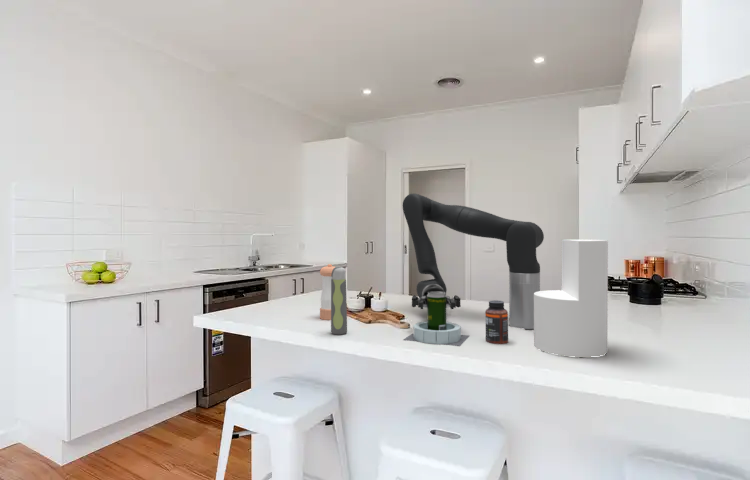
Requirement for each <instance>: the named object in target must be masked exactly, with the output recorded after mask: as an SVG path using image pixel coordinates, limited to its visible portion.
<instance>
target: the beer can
mask: <svg viewBox="0 0 750 480" xmlns="http://www.w3.org/2000/svg"><path fill="white" fill-rule="evenodd" d="M446 296H447V294H446V295H445V292H441V291H432V292H428V295H427V308H426V310H427V311H426V316H427V317H426V318H427V319H426V322H427V330H447V326H446V322H447V308H446Z"/></svg>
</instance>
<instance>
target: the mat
mask: <svg viewBox="0 0 750 480" xmlns="http://www.w3.org/2000/svg"><path fill="white" fill-rule="evenodd" d="M469 337H470V335H469V334H468V335H467V334H461V339H460V340H459V341H458V342H454V343H450V344H449V343H448V344H442V345H443V346H453V347H461V346H462V345H463V344H464V343H465V341H467V340H468V338H469ZM402 341H407V342H408V341H409V342H416V343H417V342H418V343H421V342H420V341H417V340H415V339H414V337H413V333H411V334H410V335H408V336H406V337H405V338H403V339H402Z"/></svg>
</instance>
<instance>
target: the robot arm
mask: <svg viewBox="0 0 750 480" xmlns="http://www.w3.org/2000/svg"><path fill="white" fill-rule="evenodd" d="M402 211H403V215H404V217H405V220H406V223H407V226H408V230H409V233H410V236H411V239H412V243H413V247H414V252H415V257H416V265H417V270H418V272H419V274H422V275H430V276H432V277H433V278H432V279H424V280H421V281H419V282H418V283H417V285H416V293H417V295H415V294H414V295H412V297H411V307H412V308H415V307H417V308H420V310H423V309H424V308H425V309H427V295H428V292H432V291H441V292H445V295H446V309H447V308H448V309H449V308H450V310H454V309H455V308H461V300H462V299H461V297H459V296H458V295H453V296H452V297H450V296H449V295H447V290H448V289H447V285H446V283H445V281H444V279H443V277H442V275H441V273H440V270H439V268H438V264H437V263H438V262H437V258H436V257H437V256H436V253H435V249H434V246H433V243H432V241H431V239H430V237H429V235H428V233H427V229H426V227H425V222H433V223H437V224H440V225H443V226H445V227H447V228H448V229H451V230H453V231H456V232H459V233H462V234H466V235H469V236H474V237H480V238H488V239H496V240H499V241H503V242H506V244H505V246H506V248H505V249H506V261H507V265H508V270H509V271H508V274H509V275H508V277H509V279H508V281H509V283H508V285H509V286H508V287H509V288H508V291H509V292H508V293H509V295H508V297H509V298H508V300H509V301H508V304H509V307H508V309H509V310H508V311H509V312H508V315H509V316H508V326H510V327H513V328H516V329H517V328H518V329H524V330H534V293H535V292H538V291H541V264H540V263H539V262H538V259H537V248H538V247H540V246H541V245H542V244H543V242H544V239H545V237H544V236H545V235H544V231H543V229H542V228H541V227H540V226H539V225H538V224H536V223H535V222H532V221H522V220H514V219H509V218H504V217H501V216H499V215H496V214H493V213H490V212H487V211H484V210H480V209H477V208H473V207H469V206H465V205H456V204H445V203H441V202H439V201H436V200H434V199H430V198H429V197H427V196H424V195H421V194H418V193H409V194H407V196H405V197H404V199H403V201H402ZM424 221H425V222H424Z"/></svg>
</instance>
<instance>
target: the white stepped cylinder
mask: <svg viewBox="0 0 750 480" xmlns="http://www.w3.org/2000/svg"><path fill="white" fill-rule="evenodd" d="M608 259H609V241H608V240H607V239H561V290H560V289H557V290H556V289H555V290H554V289H553V290H552V289H551V290H550V289H549V290H540V291H538V292H535V293H534V329H533V347H534V346H535V347H536V348H537V349H536V348H535V347H534V348H535V349H536V350H538V349H540V350H542V351H546V352H549V353H554V354H558V355H565V356H575V357H591V356H600V355H604V354H605V353H607V354H608V328H609V326H608V325H609V323H608V316H609V314H608V310H609V309H608V305H609V304H608V302H609V301H608V300H609V299H608V297H609V296H608V293H609V292H608V288H609V287H608V285H609V284H608V283H609V281H608V280H609V269H608V267H609V263H608V262H609V260H608ZM540 350H539V351H540ZM542 351H541V352H542ZM604 356H605V355H604Z"/></svg>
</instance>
